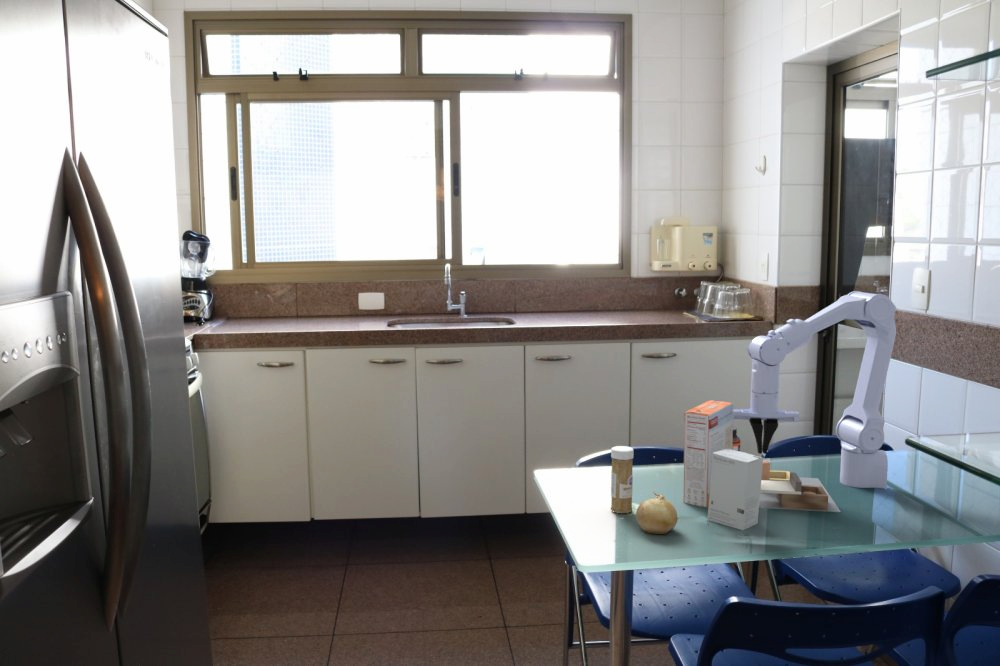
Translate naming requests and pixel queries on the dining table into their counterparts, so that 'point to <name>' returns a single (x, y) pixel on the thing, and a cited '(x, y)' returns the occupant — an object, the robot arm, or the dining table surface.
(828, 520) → the dining table surface
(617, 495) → the sprinkles bottle
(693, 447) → the cracker box
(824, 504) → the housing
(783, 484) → the lid
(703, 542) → the dining table surface
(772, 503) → the board
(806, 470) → the dining table surface
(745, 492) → the skincare box
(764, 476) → the dowel pin
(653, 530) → the onion
